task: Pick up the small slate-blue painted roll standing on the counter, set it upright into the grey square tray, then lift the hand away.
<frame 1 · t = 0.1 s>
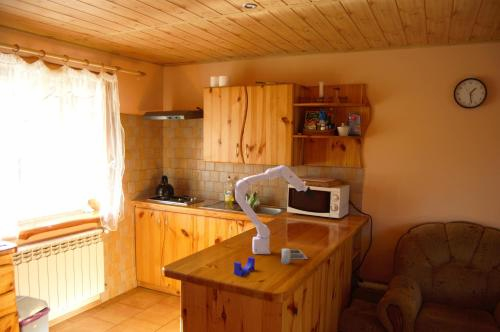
hand: (311, 196, 226), 32 cm above the worktop, tool tilted 50°, fingers open, 7 cm apart
roll: (285, 262, 207), on the worktop
grey square tray: (294, 256, 218), on the worktop
cable clip: (245, 273, 191), on the worktop
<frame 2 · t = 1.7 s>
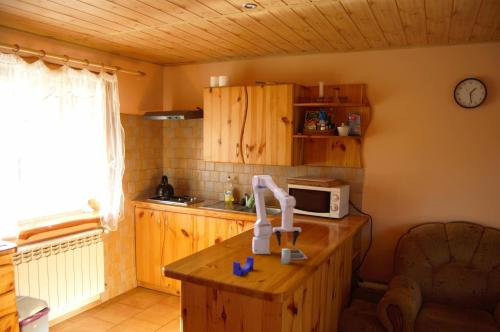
hand: (286, 245, 206), 9 cm above the worktop, tool pointing down, fingers open, 7 cm apart
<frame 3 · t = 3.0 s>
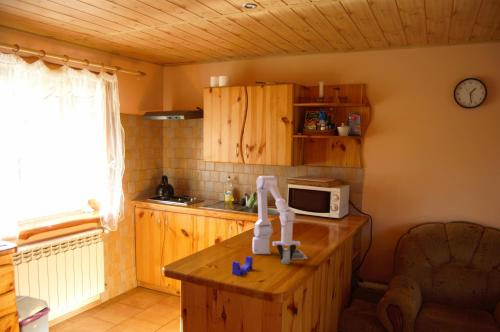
hand: (285, 259, 207), 2 cm above the worktop, tool pointing down, fingers closed on roll, 4 cm apart
roll: (285, 262, 207), on the worktop, touching gripper
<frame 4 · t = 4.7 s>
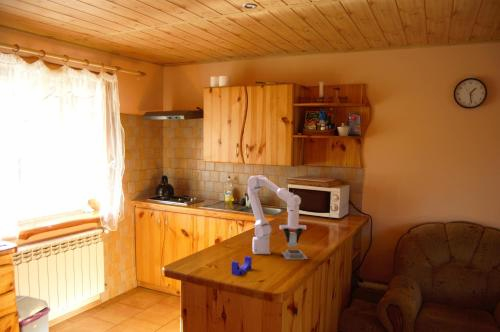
hand: (292, 242, 214), 9 cm above the worktop, tool pointing down, fingers closed on roll, 4 cm apart
roll: (292, 245, 214), point 7 cm above the worktop, touching gripper
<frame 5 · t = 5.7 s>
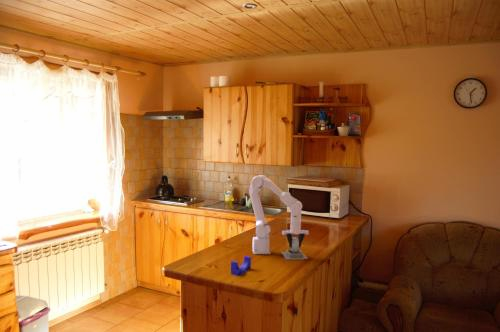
hand: (294, 247, 218), 5 cm above the worktop, tool pointing down, fingers closed on roll, 4 cm apart
roll: (294, 250, 218), point 3 cm above the worktop, touching gripper
when the fingers open (4 cm above the worktop, at t = 6.5 s): roll stays where it is, resting on grey square tray.
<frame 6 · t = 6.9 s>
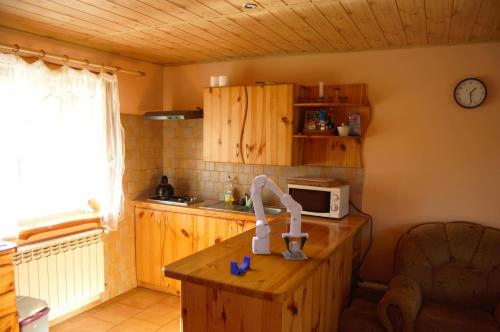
hand: (294, 250, 218), 4 cm above the worktop, tool pointing down, fingers open, 7 cm apart
roll: (294, 255, 218), point 1 cm above the worktop, touching grey square tray
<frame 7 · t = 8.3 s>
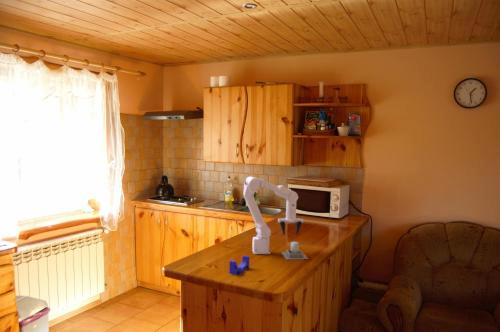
hand: (290, 234, 228), 9 cm above the worktop, tool pointing down, fingers open, 7 cm apart
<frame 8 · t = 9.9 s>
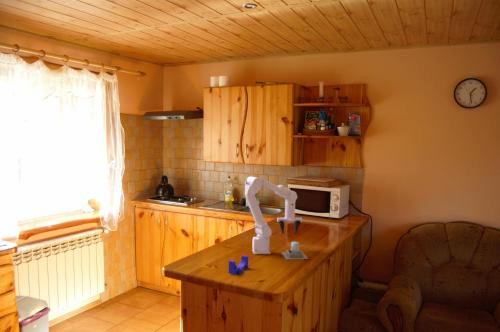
hand: (289, 233, 231), 9 cm above the worktop, tool pointing down, fingers open, 7 cm apart
at the end: roll 0.2 cm off-centre on the grey square tray, point 0.6 cm above the grey square tray's base; roll tilted 1°; the gripper is holding nothing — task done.
